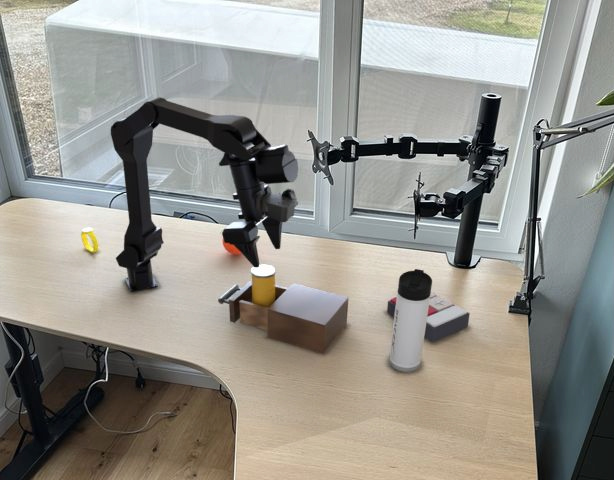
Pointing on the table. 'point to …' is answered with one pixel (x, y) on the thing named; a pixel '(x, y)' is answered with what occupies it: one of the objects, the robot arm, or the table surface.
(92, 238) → the watch
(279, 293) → the drawer
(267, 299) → the tin
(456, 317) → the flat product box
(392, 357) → the travel mug
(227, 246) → the clementine
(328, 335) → the cabinet
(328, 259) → the table surface
